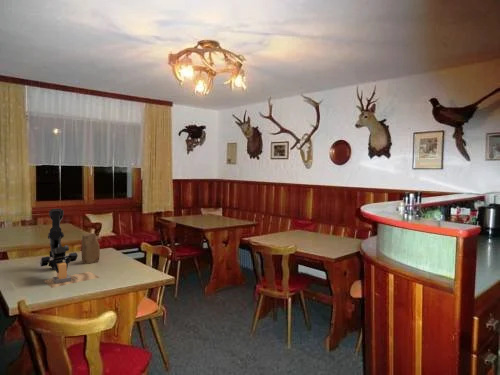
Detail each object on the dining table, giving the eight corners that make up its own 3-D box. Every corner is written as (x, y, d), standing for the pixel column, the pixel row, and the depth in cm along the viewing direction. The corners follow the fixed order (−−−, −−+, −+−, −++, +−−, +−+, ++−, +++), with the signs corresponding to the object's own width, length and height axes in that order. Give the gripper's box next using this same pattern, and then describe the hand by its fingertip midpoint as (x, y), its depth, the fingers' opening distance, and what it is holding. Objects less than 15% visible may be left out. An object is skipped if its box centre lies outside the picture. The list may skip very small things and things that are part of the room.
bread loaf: (84, 264, 240) (83, 235, 239) (81, 262, 246) (80, 233, 245) (100, 262, 247) (100, 233, 246) (97, 259, 253) (96, 232, 252)
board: (51, 289, 193) (51, 287, 193) (43, 282, 204) (43, 280, 204) (99, 279, 211) (99, 277, 211) (89, 273, 222) (89, 271, 222)
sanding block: (55, 283, 199) (55, 266, 198) (52, 280, 204) (52, 263, 203) (71, 280, 204) (70, 263, 203) (67, 278, 209) (67, 261, 208)
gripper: (40, 243, 199) (46, 267, 191) (76, 239, 211) (82, 261, 204) (37, 254, 205) (43, 277, 198) (72, 249, 218) (78, 271, 210)
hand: (62, 271), depth 202 cm, fingers closed on sanding block, 4 cm apart
